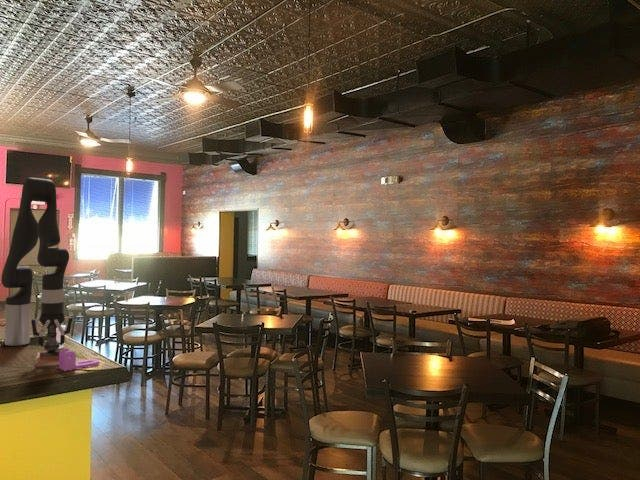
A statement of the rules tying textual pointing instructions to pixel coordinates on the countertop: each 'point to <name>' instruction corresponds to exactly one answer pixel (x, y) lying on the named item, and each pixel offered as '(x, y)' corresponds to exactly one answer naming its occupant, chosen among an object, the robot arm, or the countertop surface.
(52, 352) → the salt shaker
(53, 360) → the shaker holder
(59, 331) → the beverage cup
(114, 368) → the countertop surface
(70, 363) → the bracket
